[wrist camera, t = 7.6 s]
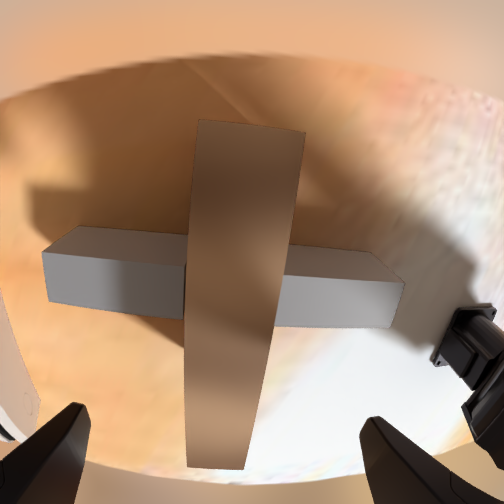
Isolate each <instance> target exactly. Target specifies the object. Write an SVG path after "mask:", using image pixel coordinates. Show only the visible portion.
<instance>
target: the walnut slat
mask: <svg viewBox="0 0 504 504" xmlns="http://www.w3.org/2000/svg"><path fill="white" fill-rule="evenodd" d="M305 134H306V133H305V132H299V131H293V130H287V129H280V128H273V127H266V126H258V125H250V124H242V123H233V122H223V121H212V120H199V121H198V130H197V138H196V148H195V157H194V167H193V178H192V189H191V202H190V215H189V229H188V245H187V264H186V287H185V322H184V402H185V435H186V456H187V467H191V468H205V469H226V470H244V466H245V462H246V457H247V453H248V449H249V444H250V440H251V435H252V431H253V426H254V422H255V417H256V413H257V408H258V403H259V399H260V394H261V389H262V384H263V379H264V375H265V370H266V365H267V360H268V355H269V350H270V345H271V339H272V334H273V329H274V324H275V318H276V313H277V308H278V302H279V297H280V291H281V286H282V280H283V274H284V269H285V263H286V257H287V251H288V245H289V239H290V233H291V227H292V221H293V215H294V208H295V202H296V196H297V189H298V182H299V176H300V169H301V162H302V155H303V148H304V141H305Z"/></svg>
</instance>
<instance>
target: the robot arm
mask: <svg viewBox="0 0 504 504" xmlns="http://www.w3.org/2000/svg"><path fill="white" fill-rule="evenodd" d="M496 312H497V310H496V308H494V307H474V308H458V309H457V310H456V311H455V313H454V316H453V318H452V321H451V323H450V326H449V328H448V330H447V333H446V335H445V337H444V339H443V342H442V344H441V346H440V348H439V350H438V352H437V354H436V356H435V359H434V361H433V365H434V366H435V367H440V366H446V365H450V367H451V368H452V369H453V370H454V371H455V373H456V374H457V375H458V376H459V378H462V379H463V381H464V382H465V383H466V384H467V386H468V387H469V388H470V389H471V390H472V391H474V390H475V391H474V392H473V394H472V395H471V396H470V398H469V399H468V400H467V401H466V402H464V404H463V405H462V406H461V408H462V411H463V413H464V416H465V418H466V421H467V423H468V426H469V428H470V431H471V433H472V436H473V438H474V441H475V443H476V444H478V445H479V446H480V447H481V448H483V449H484V450H486V451H487V452H488V453H489V455H490V456H491V457H492V459H493V461H494V462H495V464H496V466H497V468H499V469H502V470H504V331H502V330H501V329H500V328H499V327H498V326H497V325H496V324H494V323H493V322H492V321H493V319H494V317H495V315H496ZM90 428H91V420H90V417H89V414H88V411H87V408H86V406H85V405H84V404H81V403H77V402H72V403H71V404H69V405H68V406H67V407H66V408H64V409H63V410H62V411H61V412H60V413H58V414H57V415H56V416H55V417H53V418H52V419H51V420H50V421H48V422H47V423H46V424H45V425H44V426H42V427H41V428H40V429H39V430H37V431H36V432H35V433H34V434H33V435H31V436H30V437H29V438H28V439H26V440H25V441H24V442H23V443H21V444H20V445H19V446H18V447H17V448H15V449H14V450H13V451H12V452H10V453H9V454H8V455H7V456H5V457H4V458H3V460H0V504H74V502H75V497H76V494H77V490H78V486H79V483H80V479H81V475H82V472H83V467H84V463H85V457H86V451H87V445H88V439H89V433H90ZM359 438H360V444H361V449H362V455H363V461H364V467H365V472H366V476H367V480H368V483H369V487H370V490H371V494H372V497H373V501H374V504H504V501H500V500H498V499H496V498H494V497H492V496H490V495H488V494H487V493H485V492H483V491H481V490H480V489H478V488H476V487H474V486H472V485H471V484H469V483H468V482H466V481H465V480H463V479H462V478H460V477H459V476H457V475H456V474H455V473H453V472H452V471H450V470H449V469H448V468H447V467H445V466H444V465H442V464H441V463H440V462H438V461H437V460H436V459H434V458H433V457H432V456H431V455H429V454H428V453H427V452H425V451H424V450H423V449H421V448H420V447H419V446H417V445H416V444H415V443H414V442H412V441H411V440H410V439H408V438H407V437H406V436H405V435H403V434H402V433H401V432H400V431H398V430H397V429H396V428H394V427H393V426H392V425H391V424H389V423H388V422H387V421H386V420H384V419H383V418H382V417H380V416H375V417H369V418H368V419H367V420H366V422H365V424H364V426H363V428H362V429H361V431H360V435H359Z"/></svg>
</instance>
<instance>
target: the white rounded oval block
mask: <svg viewBox="0 0 504 504" xmlns="http://www.w3.org/2000/svg"><path fill="white" fill-rule="evenodd" d="M40 401H41V400H40V397H39V395H38V393H37V391H36V389H35V387H34V384H33V382H32V380H31V378H30V375H29V373H28V370H27V368H26V366H25V363H24V361H23V358H22V355H21V353H20V350H19V347H18V345H17V342H16V339H15V336H14V333H13V330H12V327H11V324H10V321H9V318H8V315H7V311H6V308H5V304H4V301H3V297H2V293H1V289H0V440H1V441H5V442H8V443H12V442H13V441H14V440H17V441H19V442H20V443H23V442H24V441H25V440H26V439H28V438H29V437H30V436H31V435H33V434H34V433H35V431H36V425H37V418H38V412H39V407H40Z"/></svg>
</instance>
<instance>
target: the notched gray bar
mask: <svg viewBox="0 0 504 504" xmlns="http://www.w3.org/2000/svg"><path fill="white" fill-rule="evenodd" d="M187 245H188V235H182V234H171V233H159V232H147V231H135V230H123V229H111V228H98V227H86V226H77V227H76V228H75V229H73V230H72V231H70V232H69V233H67V234H66V235H64V236H63V237H62V238H60V239H59V240H57V241H56V242H55V243H53V244H52V245H50V246H49V247H48V248H46V249H45V250H44V251H42V259H43V267H44V275H45V282H46V288H47V294H48V300H49V302H54V303H60V304H66V305H72V306H78V307H85V308H91V309H98V310H105V311H112V312H119V313H127V314H135V315H143V316H152V317H160V318H170V319H180V320H183V316H184V311H185V287H186V264H187ZM404 286H405V282H404V281H402V280H401V279H400V278H399V277H398V276H397V275H396V274H395V273H394V272H392V271H391V270H390V269H389V268H388V267H387V266H386V265H384V264H383V263H382V262H381V261H380V260H379V259H378V258H376V257H375V256H374V255H373V254H372V253H371V252H362V251H352V250H342V249H332V248H322V247H312V246H302V245H291V244H289V245H288V251H287V257H286V263H285V269H284V274H283V280H282V286H281V291H280V297H279V302H278V308H277V313H276V318H275V324H274V326H279V327H307V328H390V327H391V324H392V321H393V318H394V316H395V313H396V310H397V307H398V304H399V301H400V298H401V295H402V292H403V289H404Z"/></svg>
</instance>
